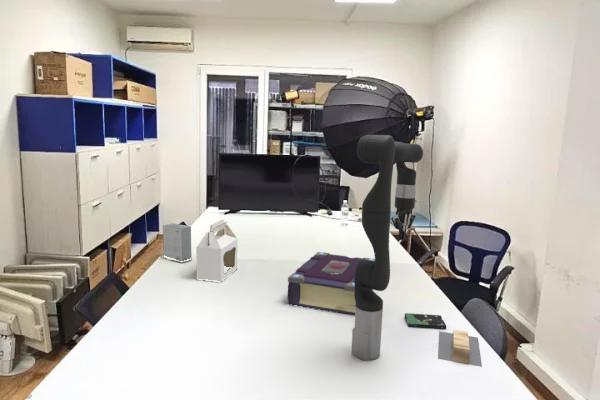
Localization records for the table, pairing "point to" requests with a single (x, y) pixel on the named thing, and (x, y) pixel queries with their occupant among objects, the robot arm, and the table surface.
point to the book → (325, 283)
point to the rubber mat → (446, 349)
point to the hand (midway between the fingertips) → (402, 239)
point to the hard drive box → (177, 241)
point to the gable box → (217, 253)
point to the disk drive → (425, 321)
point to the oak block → (460, 346)
